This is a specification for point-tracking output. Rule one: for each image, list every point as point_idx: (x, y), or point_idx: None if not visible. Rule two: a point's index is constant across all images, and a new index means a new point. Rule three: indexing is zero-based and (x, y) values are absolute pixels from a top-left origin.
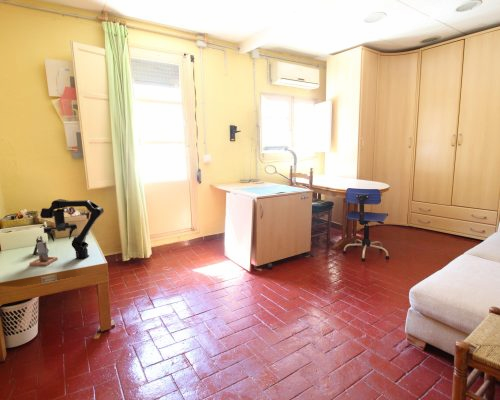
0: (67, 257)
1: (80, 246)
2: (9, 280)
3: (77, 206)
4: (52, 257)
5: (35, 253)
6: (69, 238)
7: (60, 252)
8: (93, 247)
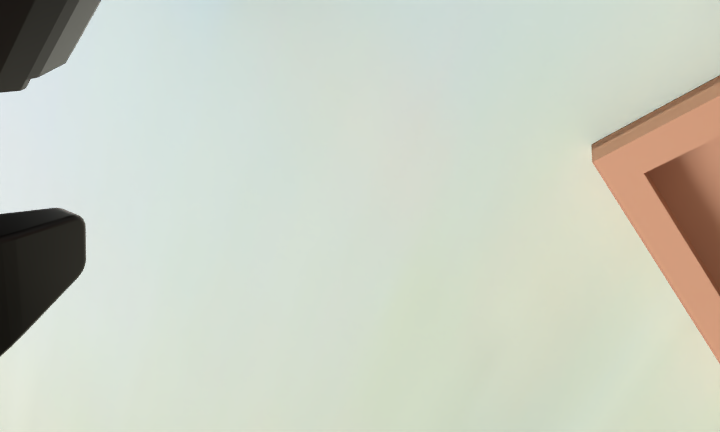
0: (416, 105)
1: None
2: None
3: None
4: (675, 221)
5: None
6: (51, 217)
7: (394, 422)
8: None
